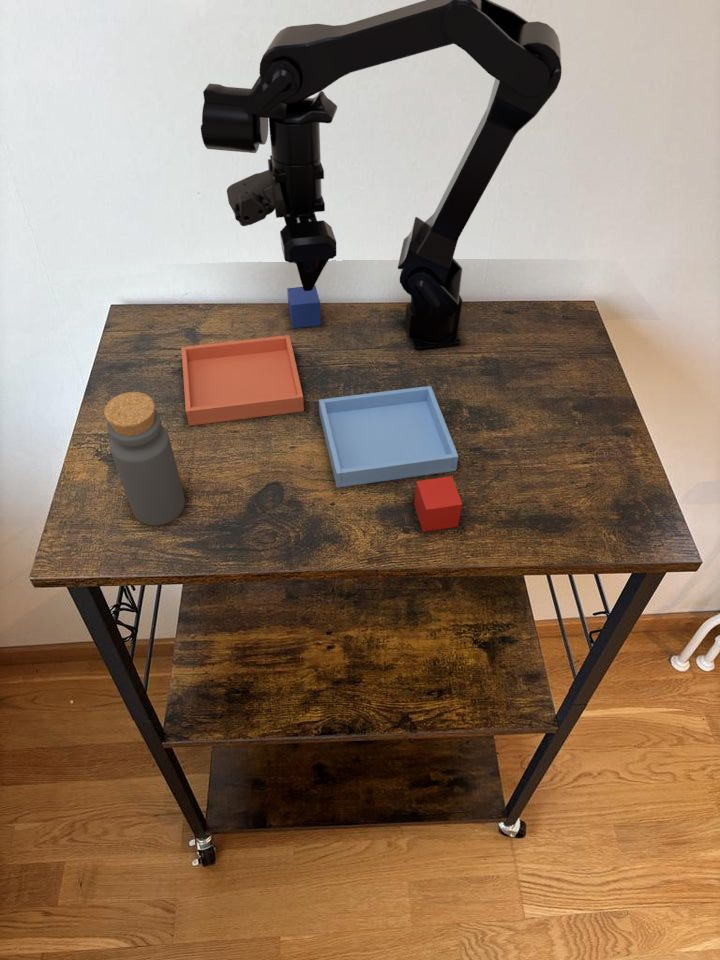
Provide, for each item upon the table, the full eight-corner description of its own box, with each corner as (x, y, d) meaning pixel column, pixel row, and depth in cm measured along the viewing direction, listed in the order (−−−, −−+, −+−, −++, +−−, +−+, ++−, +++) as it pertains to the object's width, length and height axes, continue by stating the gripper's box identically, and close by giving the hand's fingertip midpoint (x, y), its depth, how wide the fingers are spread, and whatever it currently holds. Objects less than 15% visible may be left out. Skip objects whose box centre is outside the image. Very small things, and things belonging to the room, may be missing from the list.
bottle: (174, 530, 79) (146, 434, 68) (123, 521, 80) (87, 424, 68) (193, 490, 83) (169, 392, 72) (144, 481, 84) (113, 383, 72)
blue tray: (429, 400, 93) (431, 385, 91) (456, 470, 86) (458, 456, 84) (319, 414, 91) (318, 399, 89) (336, 487, 84) (336, 473, 82)
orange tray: (290, 349, 99) (289, 334, 97) (304, 411, 92) (303, 396, 90) (184, 361, 97) (181, 346, 95) (189, 426, 89) (185, 411, 88)
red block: (448, 498, 83) (452, 475, 80) (458, 526, 80) (462, 504, 77) (413, 504, 82) (416, 481, 79) (422, 532, 80) (426, 509, 77)
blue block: (316, 308, 105) (315, 284, 102) (320, 325, 103) (320, 301, 100) (288, 311, 105) (287, 287, 102) (292, 328, 102) (291, 305, 99)
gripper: (220, 124, 90) (235, 238, 102) (234, 201, 79) (249, 319, 90) (309, 118, 92) (313, 230, 104) (336, 191, 80) (337, 309, 92)
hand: (302, 270), depth 97 cm, fingers open, 9 cm apart
